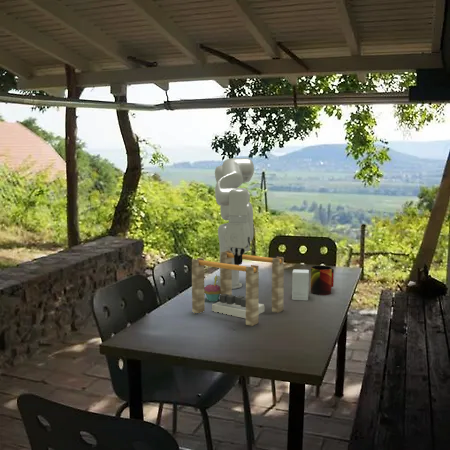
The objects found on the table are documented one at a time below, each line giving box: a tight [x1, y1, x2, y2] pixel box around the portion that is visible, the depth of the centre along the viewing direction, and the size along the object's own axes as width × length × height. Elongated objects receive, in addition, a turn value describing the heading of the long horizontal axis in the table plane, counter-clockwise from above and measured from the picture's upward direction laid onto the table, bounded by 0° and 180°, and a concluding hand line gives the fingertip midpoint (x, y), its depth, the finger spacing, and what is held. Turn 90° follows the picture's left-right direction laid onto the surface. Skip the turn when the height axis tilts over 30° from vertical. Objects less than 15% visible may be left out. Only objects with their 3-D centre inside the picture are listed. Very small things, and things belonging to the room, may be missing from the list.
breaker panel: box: [211, 294, 265, 319], centre depth 204 cm, size 18×12×6 cm, turn 55°
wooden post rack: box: [191, 251, 285, 327], centre depth 203 cm, size 29×24×22 cm
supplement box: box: [291, 268, 310, 301], centre depth 224 cm, size 7×7×13 cm
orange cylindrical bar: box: [227, 253, 282, 264], centre depth 210 cm, size 29×2×2 cm, turn 55°
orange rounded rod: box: [199, 260, 256, 273], centre depth 194 cm, size 29×2×2 cm, turn 55°
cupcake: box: [204, 274, 221, 302], centre depth 221 cm, size 9×8×12 cm
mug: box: [310, 265, 335, 296], centre depth 235 cm, size 10×14×12 cm
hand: (238, 264), depth 202 cm, fingers closed
